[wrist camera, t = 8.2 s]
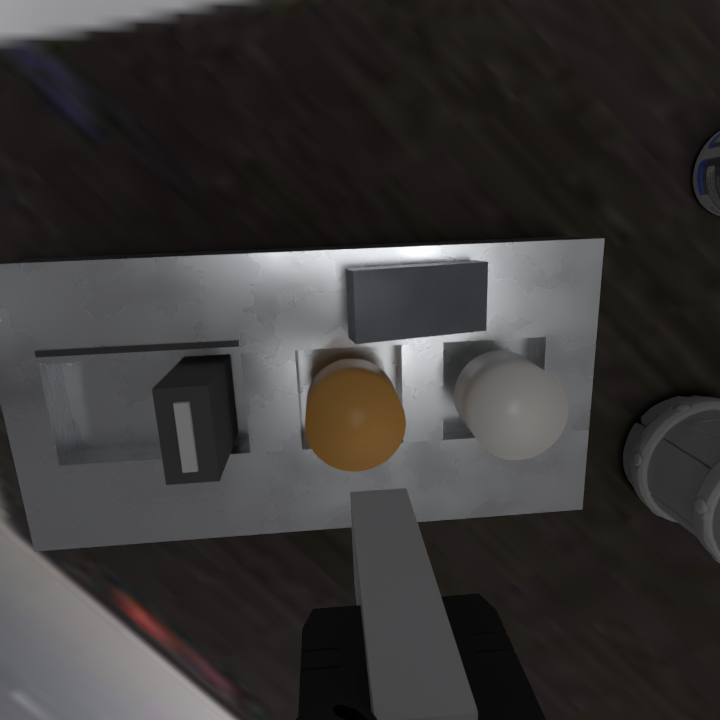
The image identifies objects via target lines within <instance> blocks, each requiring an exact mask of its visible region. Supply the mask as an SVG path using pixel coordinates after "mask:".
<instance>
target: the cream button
mask: <svg viewBox="0 0 720 720" xmlns="http://www.w3.org/2000/svg"><path fill="white" fill-rule="evenodd" d="M454 402H455V407H456V409H457V412H458V414H459V416H460V417H461V418H462V420H463V421H464V423H465V424H466V425H467V427H468V428H469V429H470V431H471V432H472V434H473V435H474V436H475V438H476V439H477V440H478V442H479V443H480V445H481V446H482V447H483V448H484V449H485V450H486V451H488V452H489V453H490V454H492V455H494V456H496V457H499V458H502V459H505V460H525V459H529V458H532V457H534V456H537V455H539V454H541V453H543V452H544V451H546V450H547V449H548V448H550V447H551V446H552V445H553V444H554V443H555V442H556V441H557V439H558V438H559V437H560V435H561V433H562V432H563V430H564V428H565V425H566V422H567V419H568V408H569V406H568V399H567V396H566V393H565V391H564V389H563V387H562V386H561V384H560V383H559V382H558V381H557V379H555V378H554V377H553V376H552V375H550V374H549V373H547V372H546V371H544V370H543V369H541V368H540V367H538V366H537V365H535V364H534V363H532V362H531V361H529V360H527V359H526V358H524V357H523V356H521V355H519V354H517V353H515V352H511V351H506V350H496V351H490V352H486V353H484V354H481V355H479V356H478V357H476V358H474V359H473V360H472V361H470V362H469V363H468V364H467V365H466V366H465V368H464V369H463V370H462V372H461V373H460V375H459V377H458V379H457V381H456V384H455V389H454Z"/></svg>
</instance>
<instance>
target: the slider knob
mask: <svg viewBox="0 0 720 720" xmlns="http://www.w3.org/2000/svg"><path fill="white" fill-rule="evenodd" d="M152 394H153V400H154V407H155V414H156V421H157V427H158V434H159V441H160V448H161V454H162V461H163V468H164V474H165V481H166V485H174V484H188V483H202V482H217V481H220V479H221V477H222V474H223V471H224V469H225V466H226V464H227V461H228V458H229V456H230V453H231V450H232V448H233V445H234V443H235V440H236V437H237V435H238V426H237V416H236V407H235V397H234V388H233V378H232V369H231V359H230V354H222V355H203V356H185V357H183V358H182V359H181V360H180V361H179V362H178V363H177V364H176V365H175V366H174V367H173V368H172V369H171V370H170V371H169V372H168V373H167V374H166V375H165V376H164V377H163V378H162V379H161V380H160V381H159V382H158V383H157V384H156V385H155V386H154V387H153V388H152Z"/></svg>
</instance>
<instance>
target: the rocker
mask: <svg viewBox="0 0 720 720" xmlns="http://www.w3.org/2000/svg"><path fill="white" fill-rule="evenodd" d="M345 272H346V295H347V317H348V338H349V339H350V340H351V341H352V342H354V343H355V344H364V343H373V342H383V341H392V340H402V339H412V338H421V337H431V336H440V335H450V334H460V333H469V332H479V331H486V327H487V288H488V262H485V261H477V260H471V261H455V262H439V263H424V264H408V265H392V266H377V267H361V268H345Z"/></svg>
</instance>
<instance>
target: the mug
mask: <svg viewBox="0 0 720 720" xmlns="http://www.w3.org/2000/svg"><path fill="white" fill-rule="evenodd" d="M641 424H642V425H641ZM641 424H639V423H635V424H634V426H633V427H632V429H631V430H630V432H629V434H628V437H627V440H626V443H625V447H624V451H623V465H624V470H625V474H626V475H627V478H628V480H629V482H630V483H631V484H632V486H633V487H634V490H635V492H636V493H637V495H638V497H639V498H640V499H641V501H642V502H643V503H644V504H645V505H646V506H648V507H649V509H650V510H651V511H652V512H653V513H654V514H656V515H658V516H662V517H663V518H665V519H668V520H670V521H674V522H678V523H680V524H681V525H682V526H683V527H685V528H686V529H687V530H689V531H690V532H691V533H693V534H694V535H695V536H696V537H697V538H698V539H699V540H700V542H701V543H702V545H703V546H704V547H705V548H706V550H707V551H708V552H709V553H710V554H711V556H712V558H713V559H715V560H716V561H717V562H719V563H720V399H719V398H714V397H702V396H693V395H692V396H691V397H682V396H677V397H673V398H670V399H668V400H665V401H663V402H660V403H658V404H656V405H655V406H653V407H652V408H650V409H649V410H648V411H647V412H646V413H645V414H644V415H642V416H641Z"/></svg>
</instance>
